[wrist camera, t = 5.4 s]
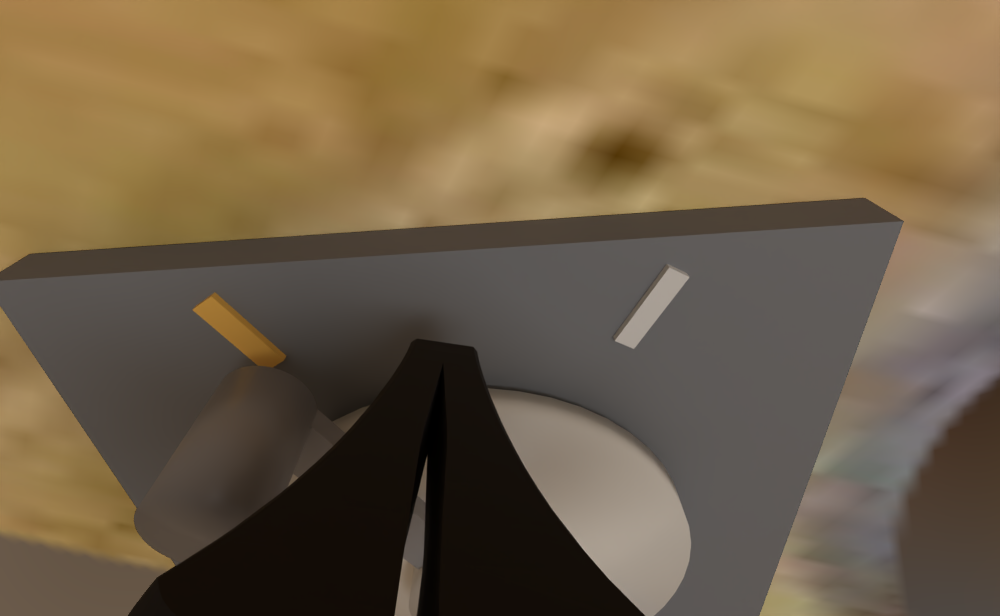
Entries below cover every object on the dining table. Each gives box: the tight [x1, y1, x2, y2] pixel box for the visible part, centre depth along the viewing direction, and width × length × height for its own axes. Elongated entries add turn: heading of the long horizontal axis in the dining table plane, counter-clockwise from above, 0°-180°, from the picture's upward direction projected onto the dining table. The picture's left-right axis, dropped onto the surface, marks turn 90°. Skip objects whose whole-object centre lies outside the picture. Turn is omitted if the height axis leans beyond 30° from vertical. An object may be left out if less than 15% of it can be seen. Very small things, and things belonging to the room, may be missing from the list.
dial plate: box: [0, 198, 904, 616], centre depth 19 cm, size 22×22×2 cm
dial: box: [134, 366, 691, 616], centre depth 16 cm, size 17×14×5 cm
